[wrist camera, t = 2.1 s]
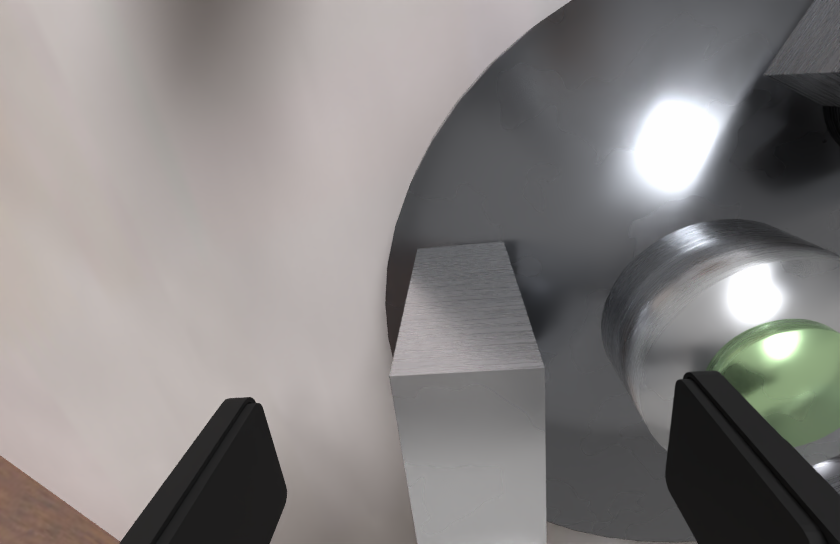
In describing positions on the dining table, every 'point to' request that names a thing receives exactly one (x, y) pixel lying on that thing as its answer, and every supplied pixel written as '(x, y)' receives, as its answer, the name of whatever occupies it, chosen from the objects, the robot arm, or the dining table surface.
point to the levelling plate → (646, 235)
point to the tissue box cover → (41, 514)
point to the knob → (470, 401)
